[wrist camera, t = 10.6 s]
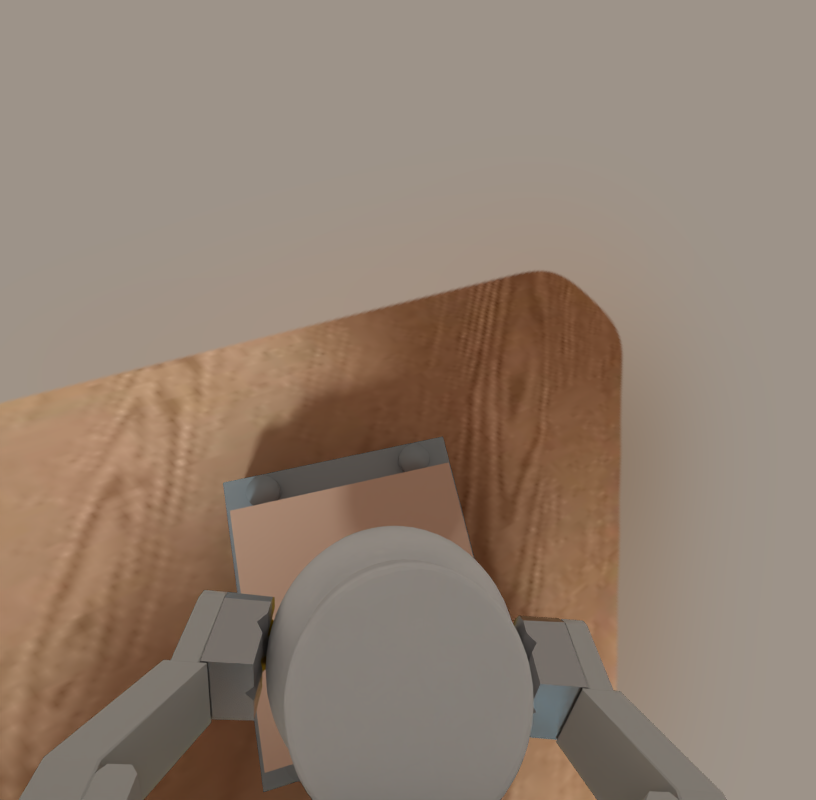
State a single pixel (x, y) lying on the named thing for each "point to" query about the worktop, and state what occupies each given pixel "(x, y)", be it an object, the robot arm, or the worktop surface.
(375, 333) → the worktop surface
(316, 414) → the worktop surface
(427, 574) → the supplement bottle
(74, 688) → the worktop surface
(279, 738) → the brick tower
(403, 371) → the worktop surface
